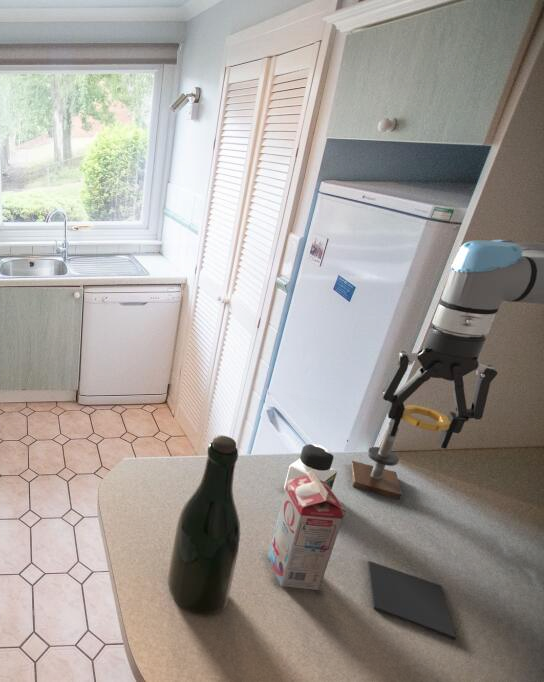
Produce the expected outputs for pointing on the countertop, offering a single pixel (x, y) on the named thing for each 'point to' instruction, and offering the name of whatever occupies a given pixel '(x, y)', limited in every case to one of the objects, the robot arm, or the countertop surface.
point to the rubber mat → (410, 599)
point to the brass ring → (438, 426)
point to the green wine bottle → (207, 536)
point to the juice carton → (305, 532)
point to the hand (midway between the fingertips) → (416, 438)
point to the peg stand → (378, 470)
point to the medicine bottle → (313, 464)
